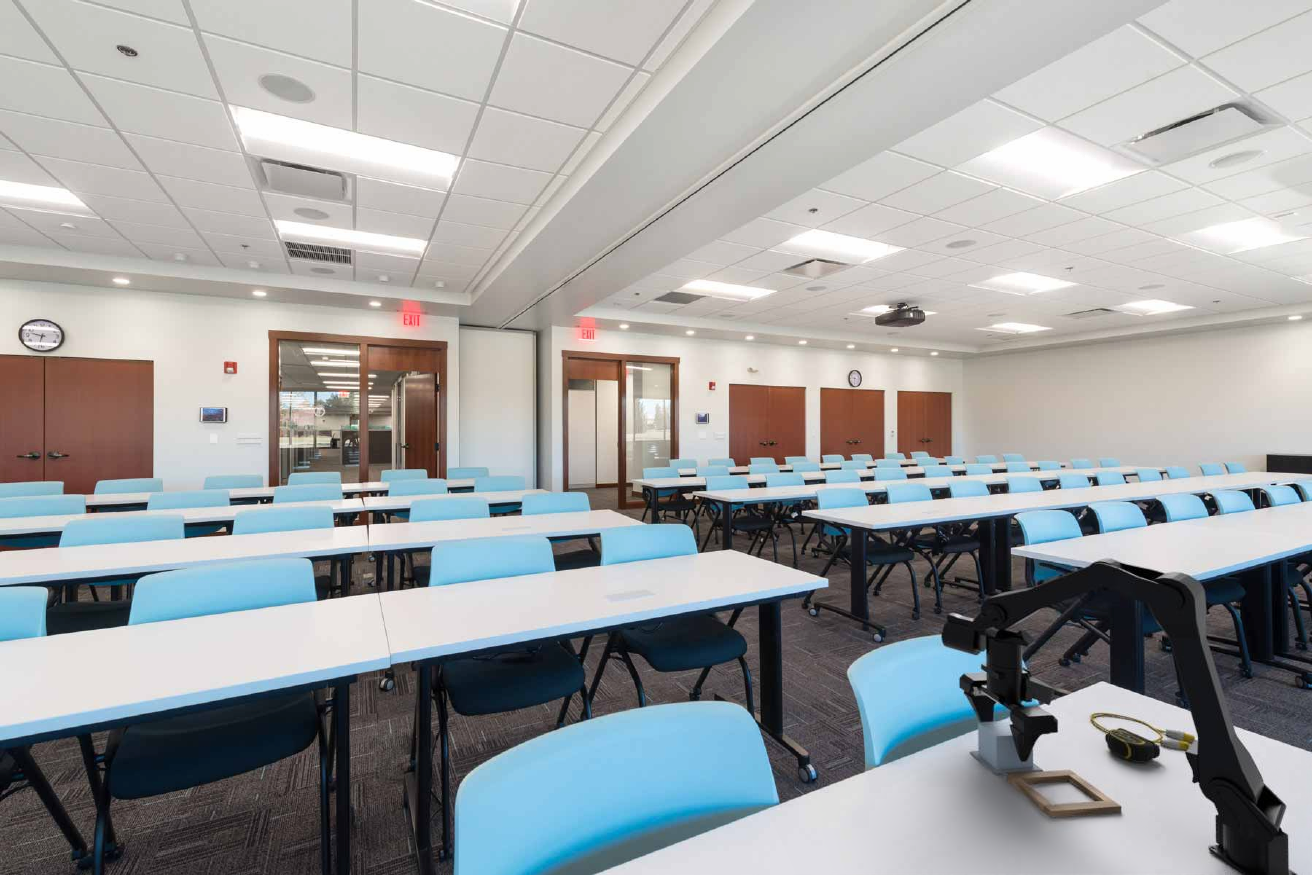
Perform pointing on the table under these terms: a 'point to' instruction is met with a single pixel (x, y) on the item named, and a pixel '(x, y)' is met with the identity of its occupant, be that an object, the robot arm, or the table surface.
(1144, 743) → the tape measure
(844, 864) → the table surface
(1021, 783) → the frame
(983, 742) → the part block
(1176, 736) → the extension cord
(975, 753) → the pad
